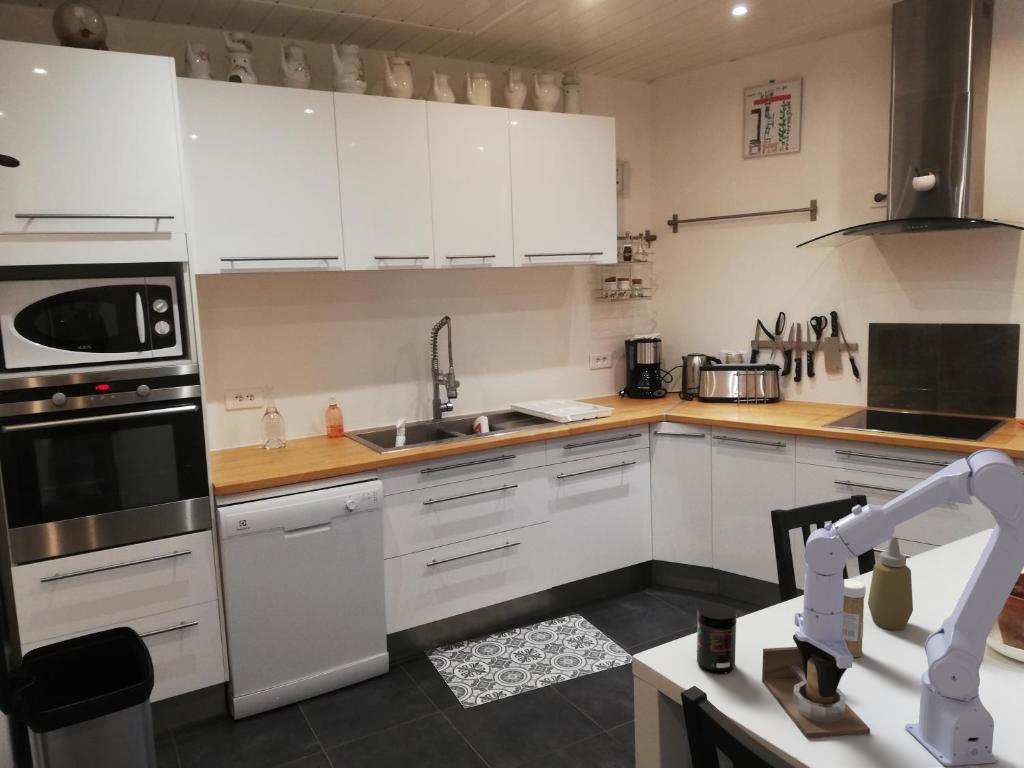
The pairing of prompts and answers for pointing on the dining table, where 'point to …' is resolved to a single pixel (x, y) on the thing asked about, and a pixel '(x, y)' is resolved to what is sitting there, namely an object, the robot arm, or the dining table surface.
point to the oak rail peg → (814, 686)
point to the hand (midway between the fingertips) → (819, 687)
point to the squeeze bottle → (891, 589)
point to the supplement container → (716, 637)
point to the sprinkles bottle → (853, 615)
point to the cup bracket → (790, 692)
